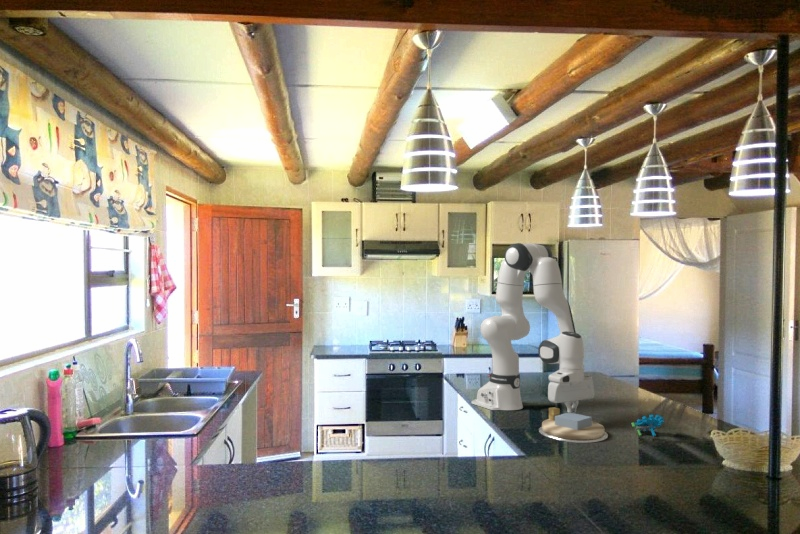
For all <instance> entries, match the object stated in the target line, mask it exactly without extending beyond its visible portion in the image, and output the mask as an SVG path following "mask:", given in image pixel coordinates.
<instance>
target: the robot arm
mask: <svg viewBox="0 0 800 534" xmlns="http://www.w3.org/2000/svg"><path fill="white" fill-rule="evenodd" d="M528 272H529V273H530V274H531V275H532V285H533V295H534V299H535V301H536V302H537V304H539V305H540V306H541V307H542V308H545V309H546V310H549V311H551V313H553V314H554V316H555V317H556V319H557V323H558V329H559V334H558V335H557V336H554V337H551V338H547V339H545V340H542V341H541V342H540V343H539V345H538V355H539V359H540V360H541V361H542V362H543V363H545V364H549V365H555V364H557V365H559V366H558V367H559V368H558V370H556V371H554V372H553V373H550V374H549V375H548V380H549V381H550V382H549V383H548V387H547V399H548V401H549V402H551V403H553V404H559V403H564V405H565V407H566V409H567V411H566V413H568V412H570V413H575V414H576V413H577V407H578V406H579V404H580V401H582V400H583V401H584V400H590V399H594V397H595V386H594V381H593V377H592V375H590V373H585V367H584V361H583V360H584V357H585V353H584V352H585V351H584V350H585V349H584V341H583V337H582V335H580V333H577V331H576V327H575V322H574V318H573V313H572V310H571V309H572V308H571V305H570V302H569V301H568V300H567V298H566V296H565V293H564V289H563V282H562V275H561V269H560V266H559V263H558V260H556V259H555V258H553V252H552V251H551V249H550V248H549V247H548V246H546V245H544V244H539V243H538V244H537V243H531V242H529V243H527V242H525V243H520V242H518V243H517V242H516V243H512V244H510V245H509V246H507V248H506V249H505V252H504V259H503V260H502V262H501V264H500V267H499V270H498V276H497V282H496V291H495V301H496V303H497V304H498V305H499V306H500V310H501V314H500V315H492V316H489V317H487V318H485V319H484V320H482V322H481V324H480V328H479V329H480V330H479V331H480V335H481V336H482V338H483V340H486V342H487V344H488V345H489V349H490V352H491V358H492V372H491V373H490V374H487V378H489V380H488V382H486V383H485V384H484V385H483V386H481V387H479V389H478V391H477V392H476V393H477V394H476V398H475V399H473V400H471V404H472V405H475V406H478V407H481V408H484V409H488V410H490V411H519V410H522V409H523V408H524V406H523V402H522V397H521V391H520V390H521V389H520V385H521V374H520V364H519V363H520V356H519V354H518V353H517V352H516V351H515V350H514V348H513V346H512V345H513V344H512V341H518V340H521V339H523V338H525V337H527V336H528V335H529V334H530V331H531V330H530V329H531V324H530V322H529V320H528V318H527V317H526V316H525V313H524V308H523V297H524V296H523V295H524V294H523V293H524V285H525V276H526V273H528Z"/></svg>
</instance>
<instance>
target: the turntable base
mask: <svg viewBox="0 0 800 534" xmlns="http://www.w3.org/2000/svg"><path fill="white" fill-rule="evenodd" d="M538 432H539V433H540V434H541V435H542V436H544V437H546V438H549V439H552V440H556V441H561V442H567V443H577V444H578V443H580V444H588V443H598V442H603V441H605V440H607V439H608V437H609V435H608V433H607V432H606V431H605V435H604V436H603V437H601V438H598V439H591V440H575V439H566V438H560V437H555V436H552V435H549V434H547V433H545V432H544V431H543V430H542V426H540V427H539V428H538Z"/></svg>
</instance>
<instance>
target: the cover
mask: <svg viewBox="0 0 800 534" xmlns="http://www.w3.org/2000/svg"><path fill="white" fill-rule="evenodd" d="M592 418H593V417H592V416H588V415H584V414H580V413H579V414H578V413H576V412H575V413H570V412H565V413H560V415H557V416H555V425H558V426H563V427H567V428H571V429H575V430H579V429H583V428H586V427H589V426H592V421H593V419H592Z"/></svg>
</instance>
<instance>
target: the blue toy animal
mask: <svg viewBox="0 0 800 534" xmlns="http://www.w3.org/2000/svg"><path fill="white" fill-rule="evenodd" d="M641 418H642V419H639V418H637V420H636V422H631V426H632V428H634V429H635V431H637V434H638V435H639V436H640V437H641V436H642V433H641V432H643V431H645V432H649V431H650V432H651V435H652V437H657V434H656V433H655V432H656V431H655V430H657V428H661V427H662V424H665V421H664V420H665V419H664V417H663V416H661V415H660V414H655V416H654V414H649V417H647V416H646V415H643V416H642V417H641Z"/></svg>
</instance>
